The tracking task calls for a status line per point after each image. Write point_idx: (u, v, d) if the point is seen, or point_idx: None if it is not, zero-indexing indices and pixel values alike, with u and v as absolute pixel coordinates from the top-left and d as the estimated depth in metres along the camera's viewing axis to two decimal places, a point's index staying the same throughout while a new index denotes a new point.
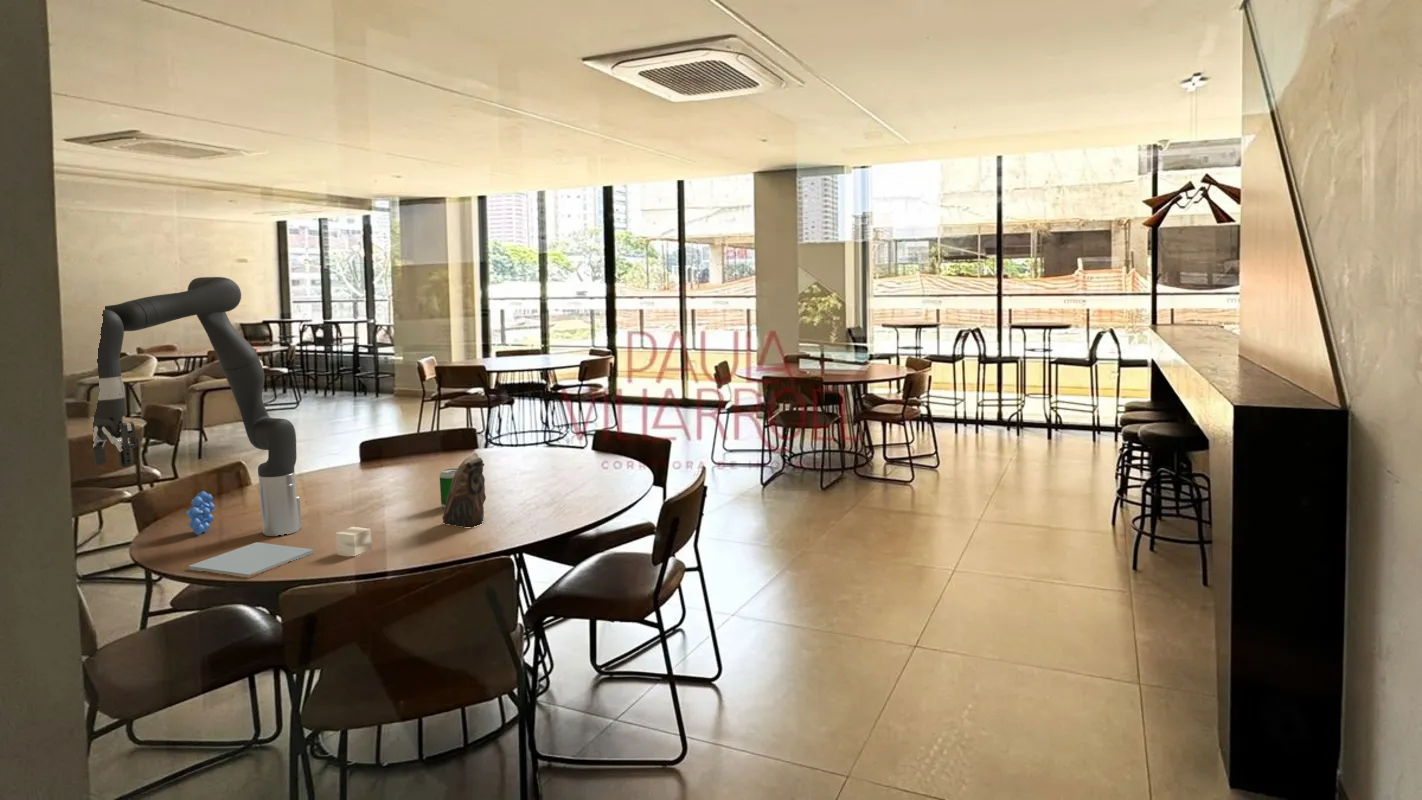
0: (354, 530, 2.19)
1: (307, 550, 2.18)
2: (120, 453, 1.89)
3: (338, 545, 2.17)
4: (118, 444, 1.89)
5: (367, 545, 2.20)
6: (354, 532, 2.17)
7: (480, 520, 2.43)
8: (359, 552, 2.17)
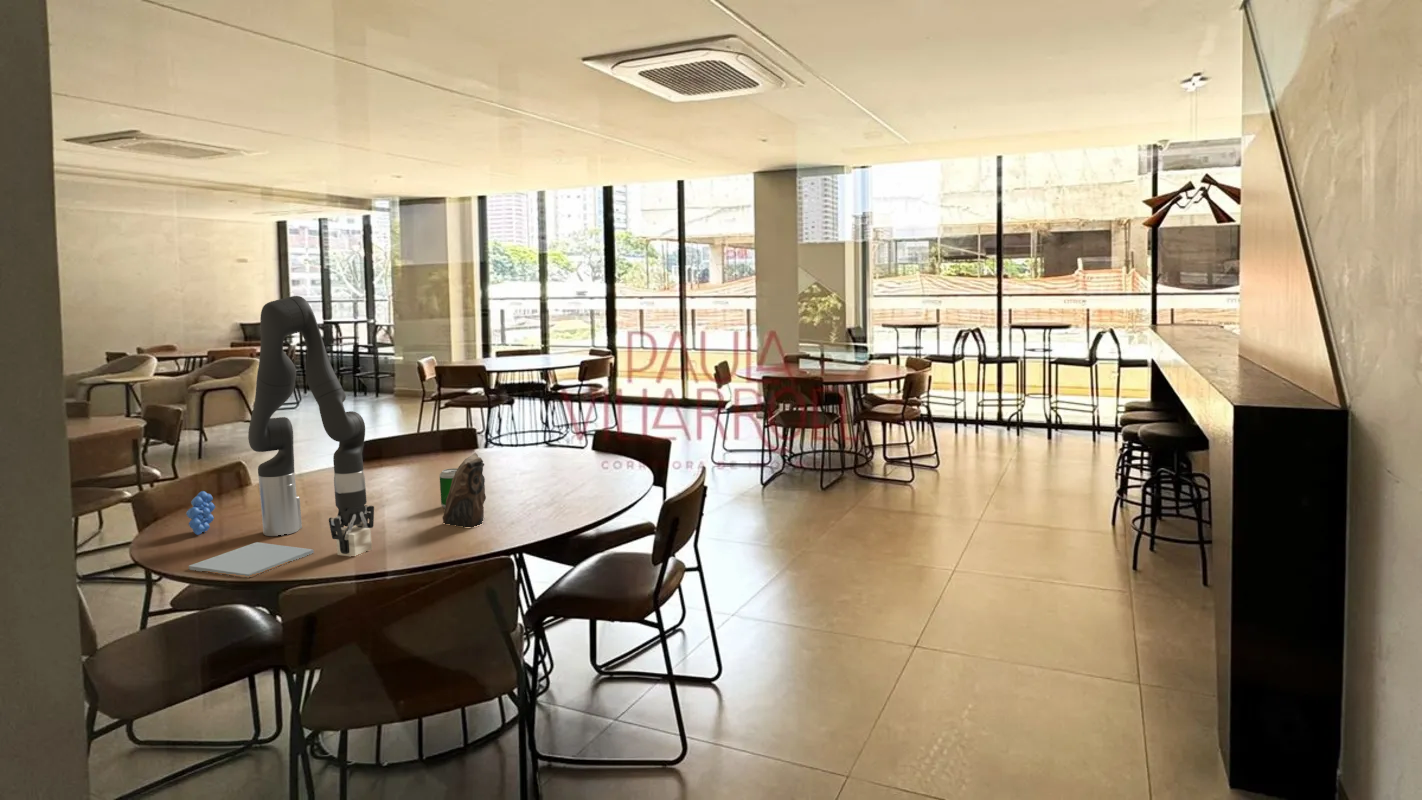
0: (354, 530, 2.19)
1: (307, 550, 2.18)
2: None
3: (338, 545, 2.17)
4: (366, 526, 2.21)
5: (367, 544, 2.20)
6: (354, 531, 2.17)
7: (480, 520, 2.43)
8: (359, 552, 2.17)
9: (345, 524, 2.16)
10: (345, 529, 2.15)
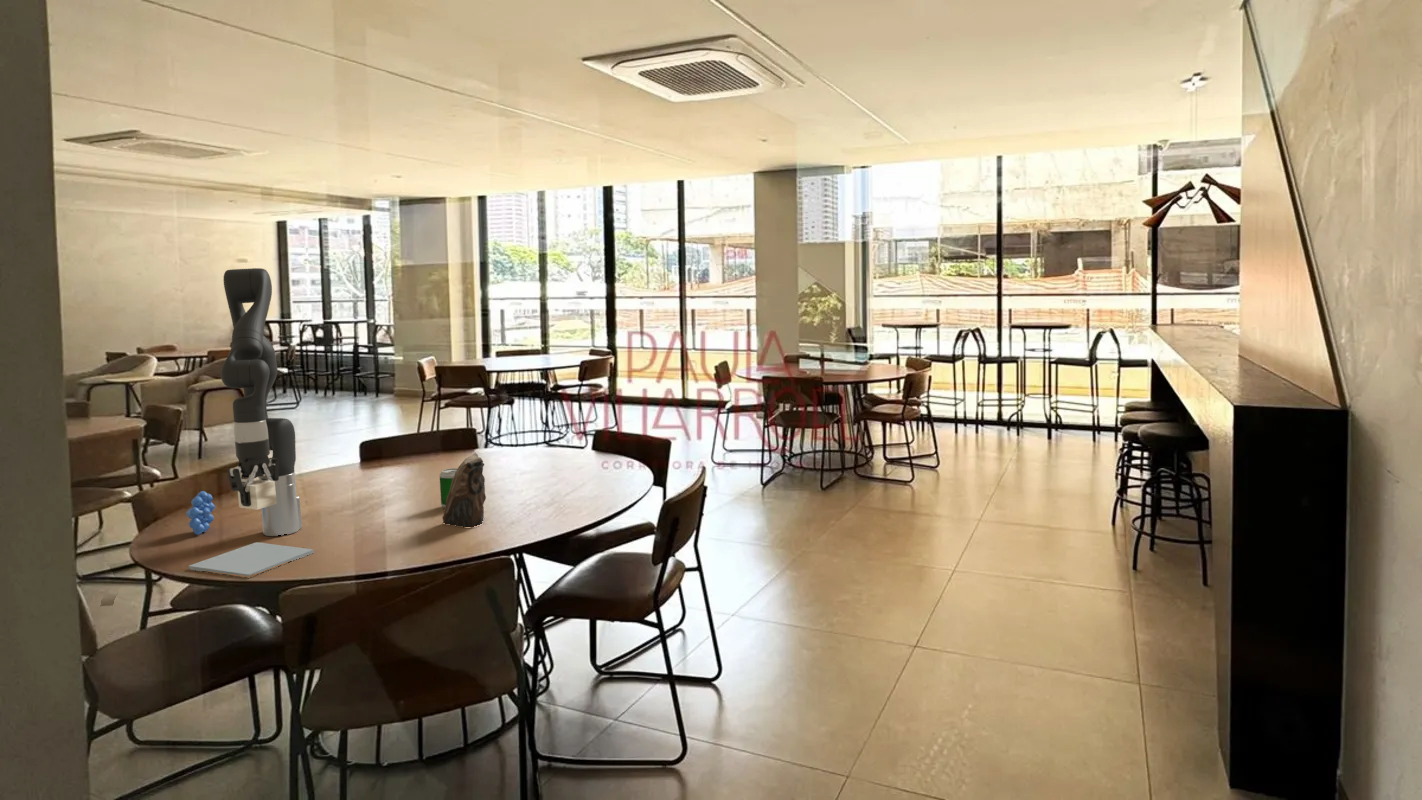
0: (257, 482, 2.11)
1: (307, 550, 2.18)
2: None
3: None
4: (270, 478, 2.14)
5: (271, 497, 2.12)
6: (256, 483, 2.10)
7: (480, 520, 2.43)
8: (261, 504, 2.09)
9: (246, 475, 2.08)
10: (246, 480, 2.07)
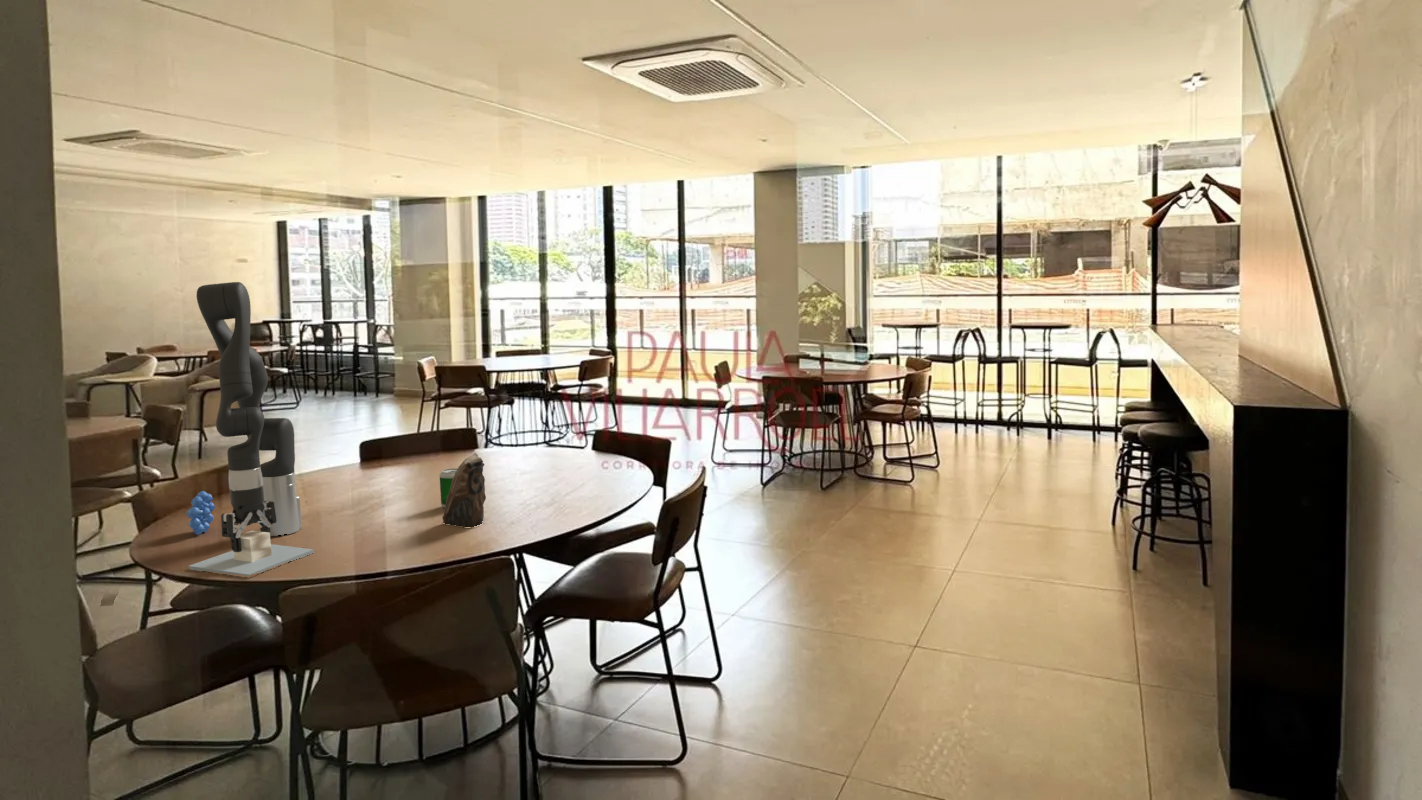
0: (253, 534, 2.13)
1: (307, 550, 2.18)
2: (268, 529, 2.16)
3: None
4: (267, 521, 2.15)
5: (266, 549, 2.13)
6: (251, 536, 2.11)
7: (480, 520, 2.43)
8: (256, 557, 2.10)
9: (239, 522, 2.09)
10: (238, 526, 2.08)
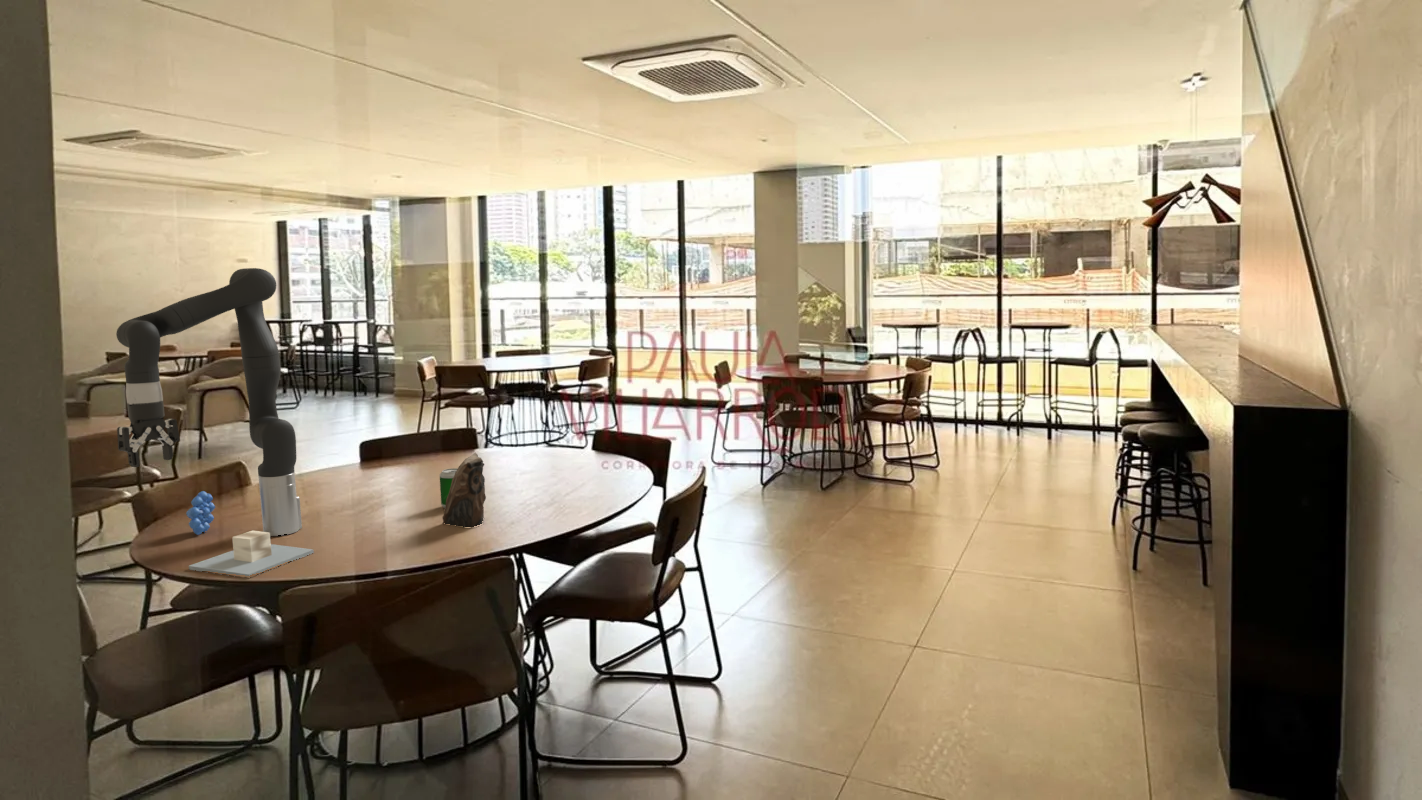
0: (253, 534, 2.13)
1: (307, 550, 2.18)
2: (170, 447, 2.13)
3: (235, 550, 2.11)
4: (169, 439, 2.12)
5: (266, 549, 2.13)
6: (251, 536, 2.11)
7: (480, 520, 2.43)
8: (256, 557, 2.10)
9: (137, 436, 2.05)
10: (135, 441, 2.04)
